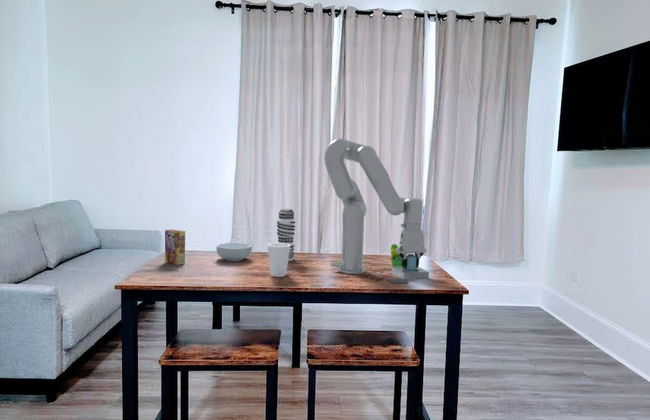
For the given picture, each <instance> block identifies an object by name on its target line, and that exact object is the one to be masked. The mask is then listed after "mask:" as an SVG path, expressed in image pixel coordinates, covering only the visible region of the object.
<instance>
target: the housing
mask: <svg viewBox="0 0 650 420" xmlns="http://www.w3.org/2000/svg"><path fill="white" fill-rule="evenodd" d="M391 274H393V275H394V276H396V277H397V278H402V279H403V280H405V281H407V280H409V281H410V280H424V279H425V280H426V279H427V280H428V279H429V277H430V276H429V275H430V271H428V270H426V269H424V268H422V267H420V266H418V268H416V271H406V270H404V268H403V267H402V266H392V265H391Z"/></svg>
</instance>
